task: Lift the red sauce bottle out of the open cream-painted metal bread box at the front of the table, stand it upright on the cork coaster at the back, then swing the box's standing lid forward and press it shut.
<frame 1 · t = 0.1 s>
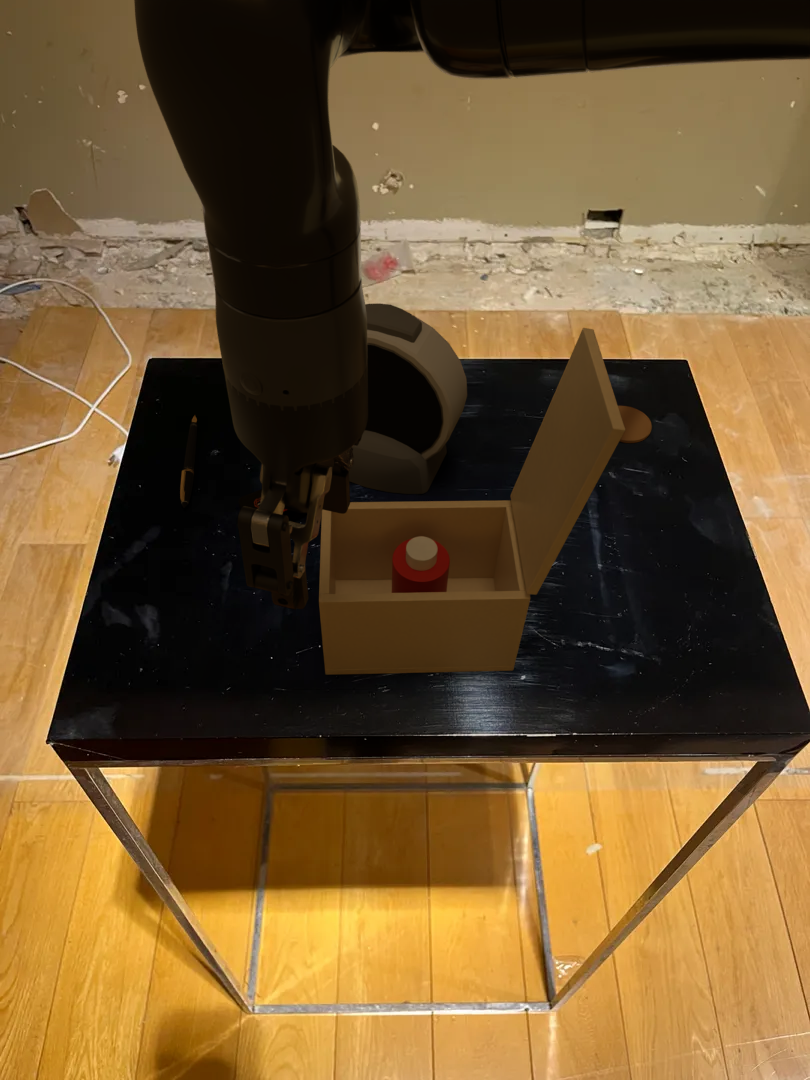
hand: (313, 552, 55), 20 cm above the table, tool pointing down, fingers open, 8 cm apart
pill bottle: (542, 505, 86), on the table
fountain pen: (191, 464, 89), on the table
breadbox lid: (558, 468, 61), point 20 cm above the table, hinge at 100.0°
coaster: (624, 425, 95), on the table
alarm clock: (383, 457, 90), on the table
sauce bottle: (417, 618, 75), point 1 cm above the table, touching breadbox
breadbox: (416, 623, 76), on the table
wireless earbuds: (271, 527, 83), on the table
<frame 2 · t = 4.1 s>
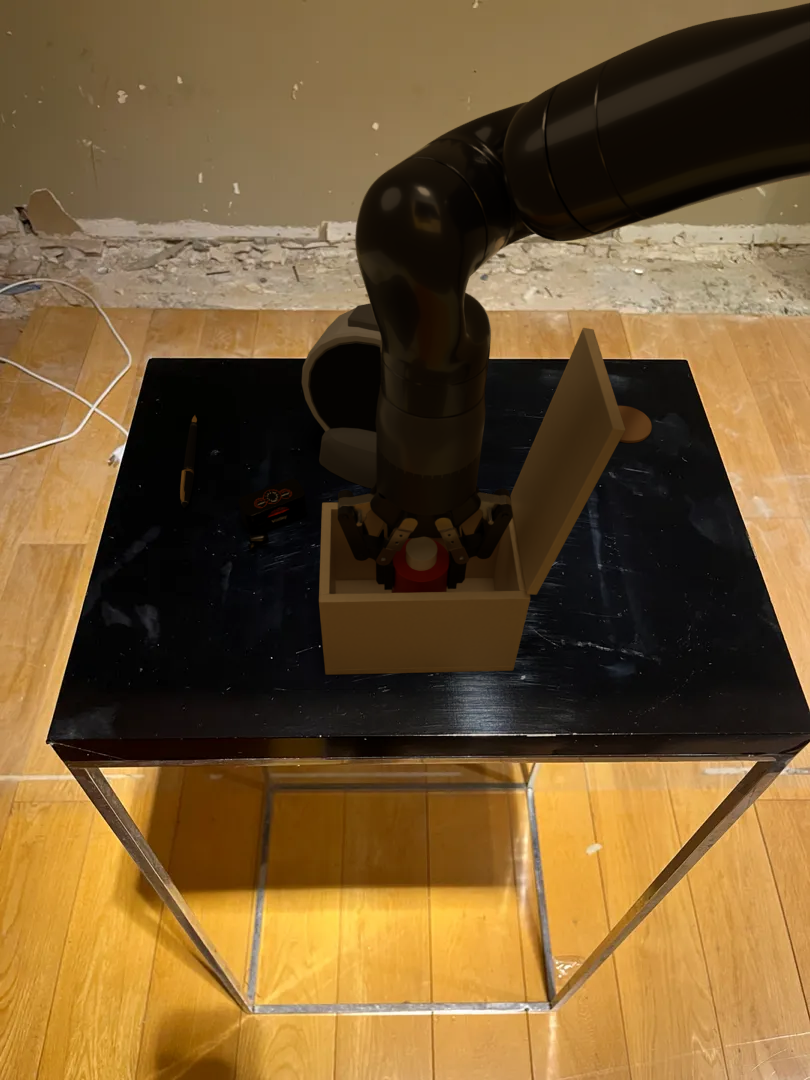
hand: (419, 580, 71), 6 cm above the table, tool pointing down, fingers closed on sauce bottle, 5 cm apart
sauce bottle: (417, 618, 75), point 1 cm above the table, touching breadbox, gripper
everything else where it was.
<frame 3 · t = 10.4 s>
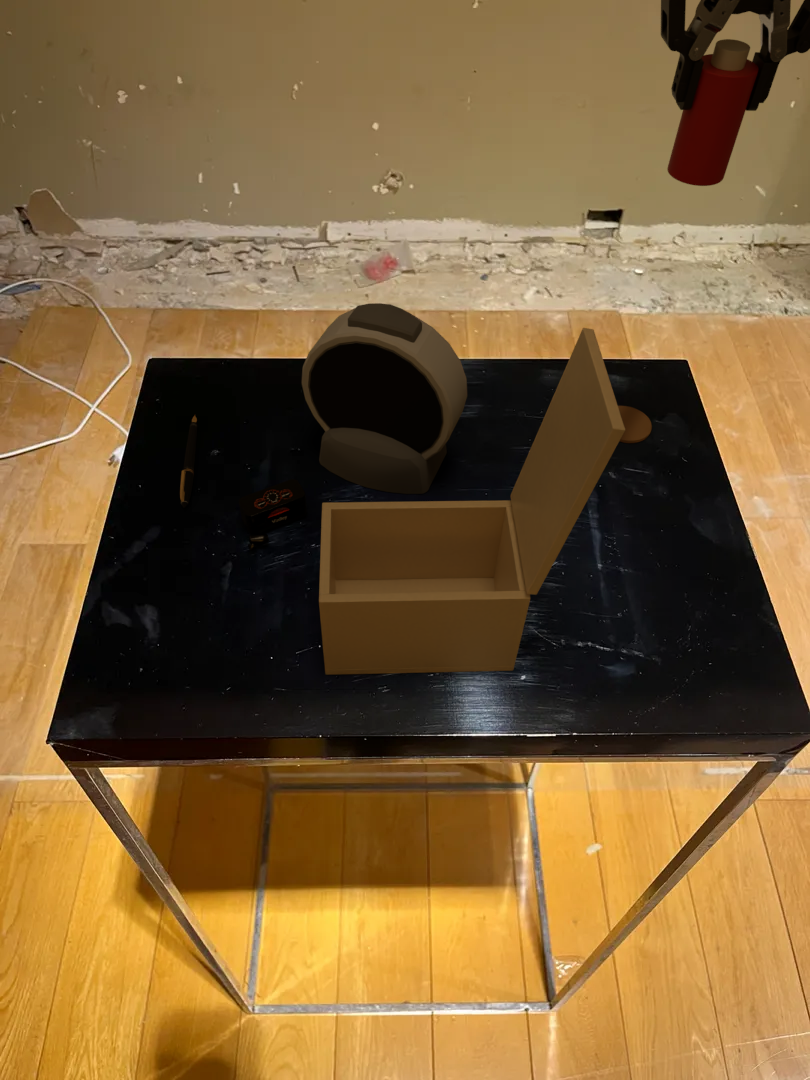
hand: (715, 105, 67), 35 cm above the table, tool pointing down, fingers closed on sauce bottle, 4 cm apart
sauce bottle: (695, 172, 71), point 30 cm above the table, touching gripper
everything else where it was.
when the fingers open (6 cm above the table, at t = 17.0 s): sauce bottle stays where it is, resting on coaster.
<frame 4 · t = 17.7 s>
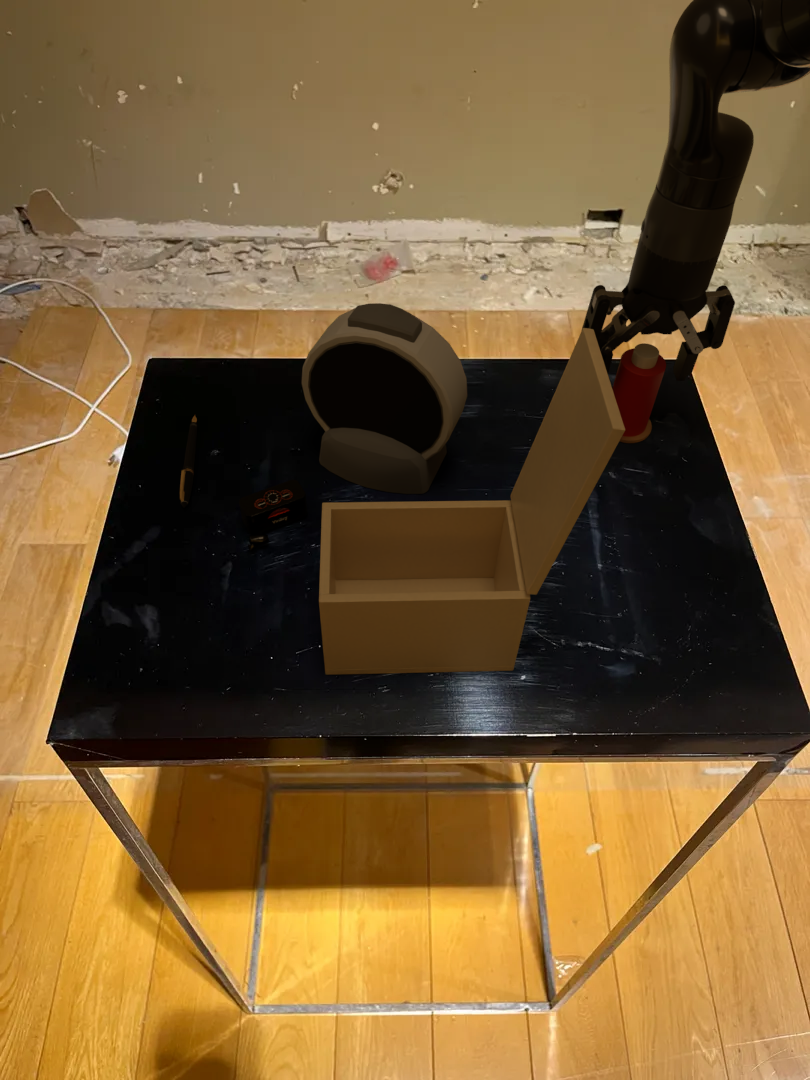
hand: (639, 376, 89), 7 cm above the table, tool pointing down, fingers open, 8 cm apart
sauce bottle: (625, 422, 94), resting on coaster
everything else where it was.
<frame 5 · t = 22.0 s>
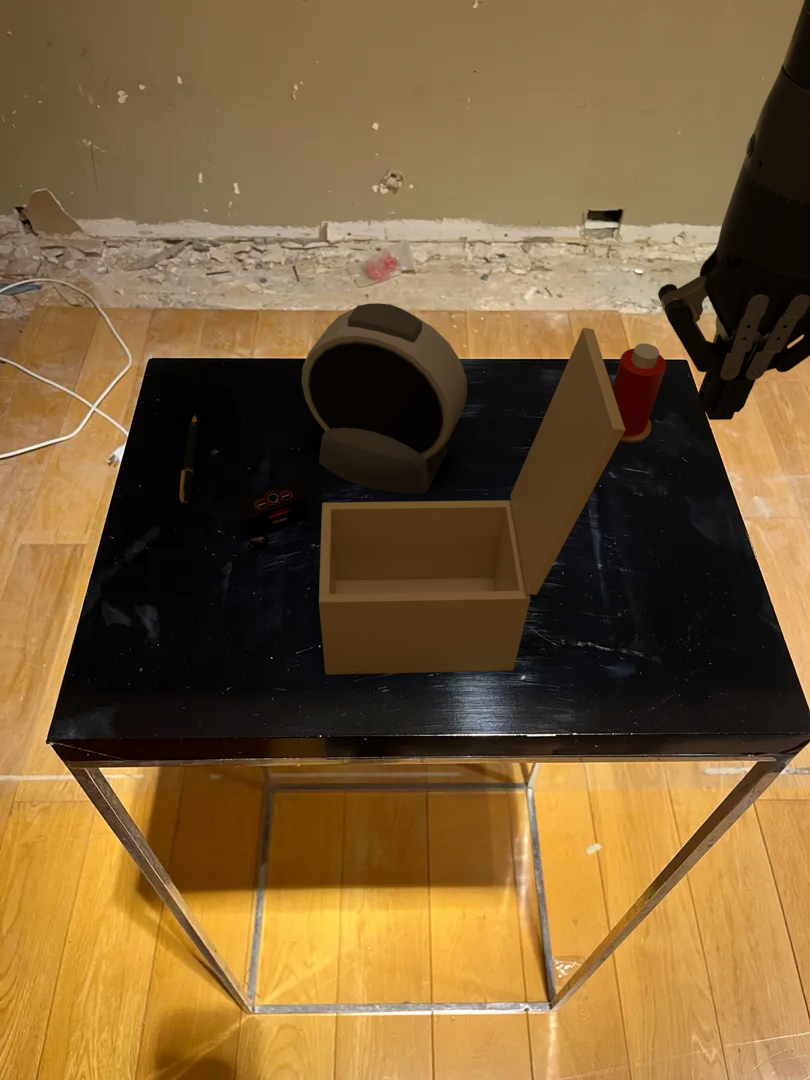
hand: (716, 412, 58), 25 cm above the table, tool pointing down, fingers closed
nothing on the table moved.
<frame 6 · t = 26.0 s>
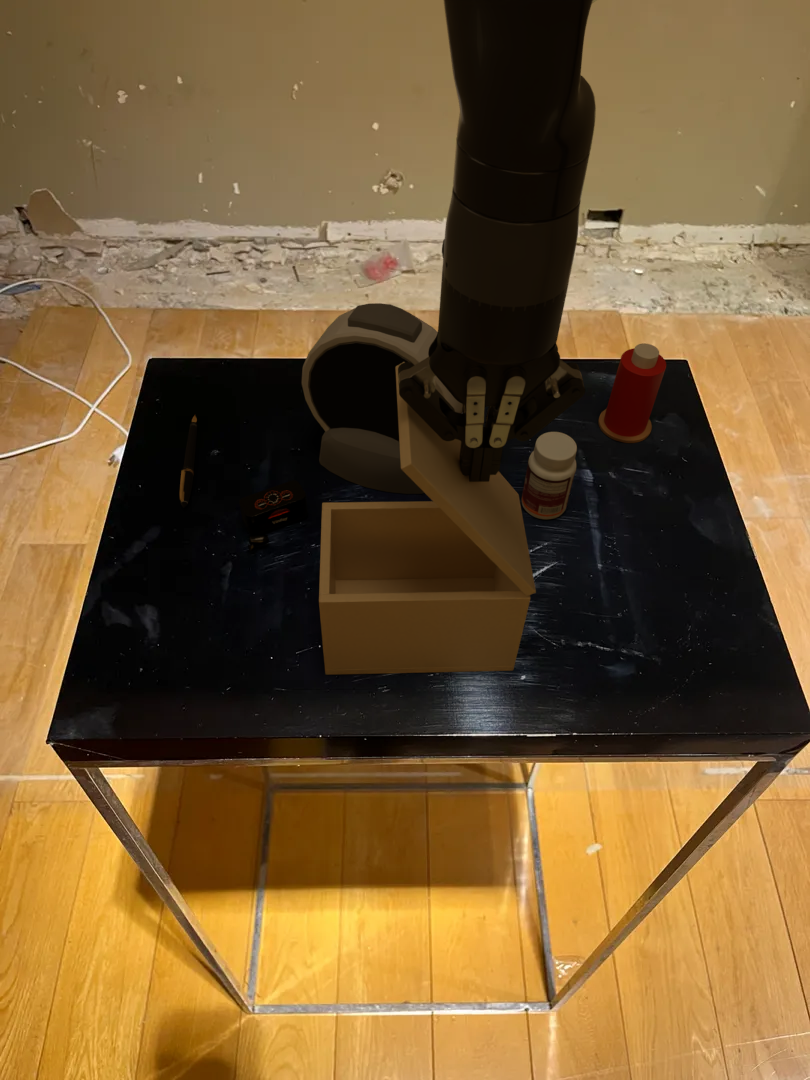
hand: (478, 473, 62), 19 cm above the table, tool pointing down, fingers closed
breadbox lid: (468, 483, 62), point 18 cm above the table, hinge at 54.1°, touching gripper
everything else where it was.
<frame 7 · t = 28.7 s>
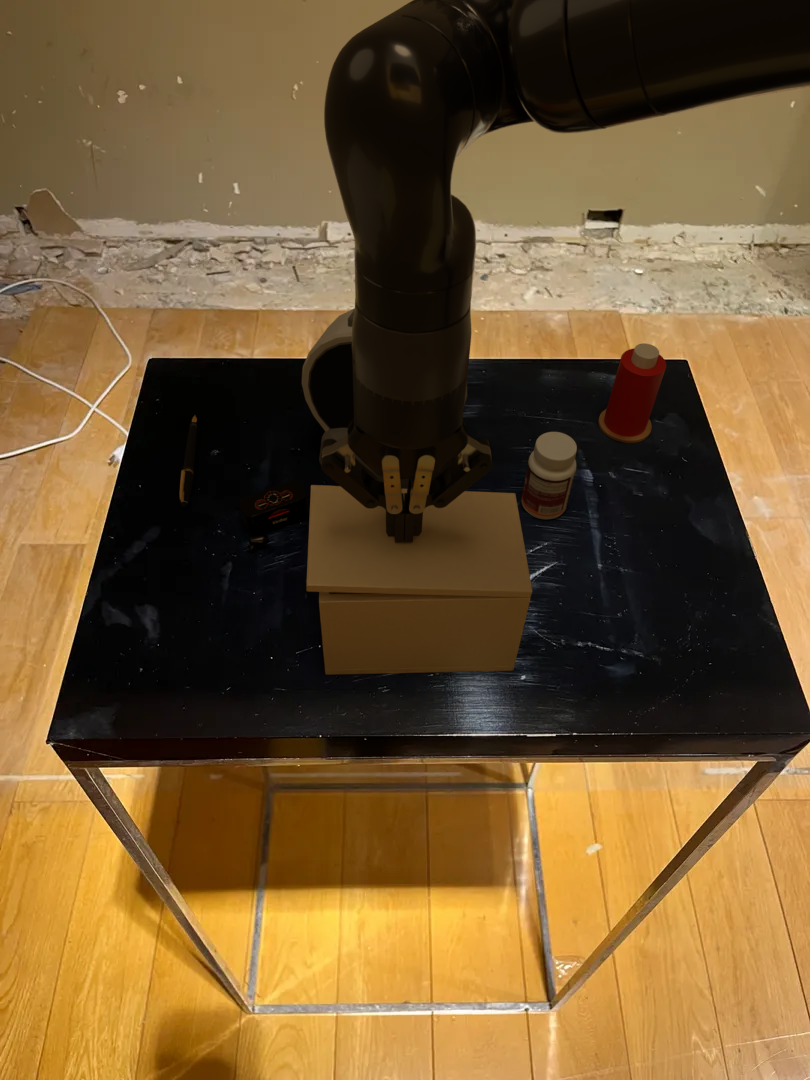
hand: (403, 534, 67), 13 cm above the table, tool pointing down, fingers closed
breadbox lid: (417, 539, 67), point 12 cm above the table, hinge at 4.2°, touching gripper
everything else where it was.
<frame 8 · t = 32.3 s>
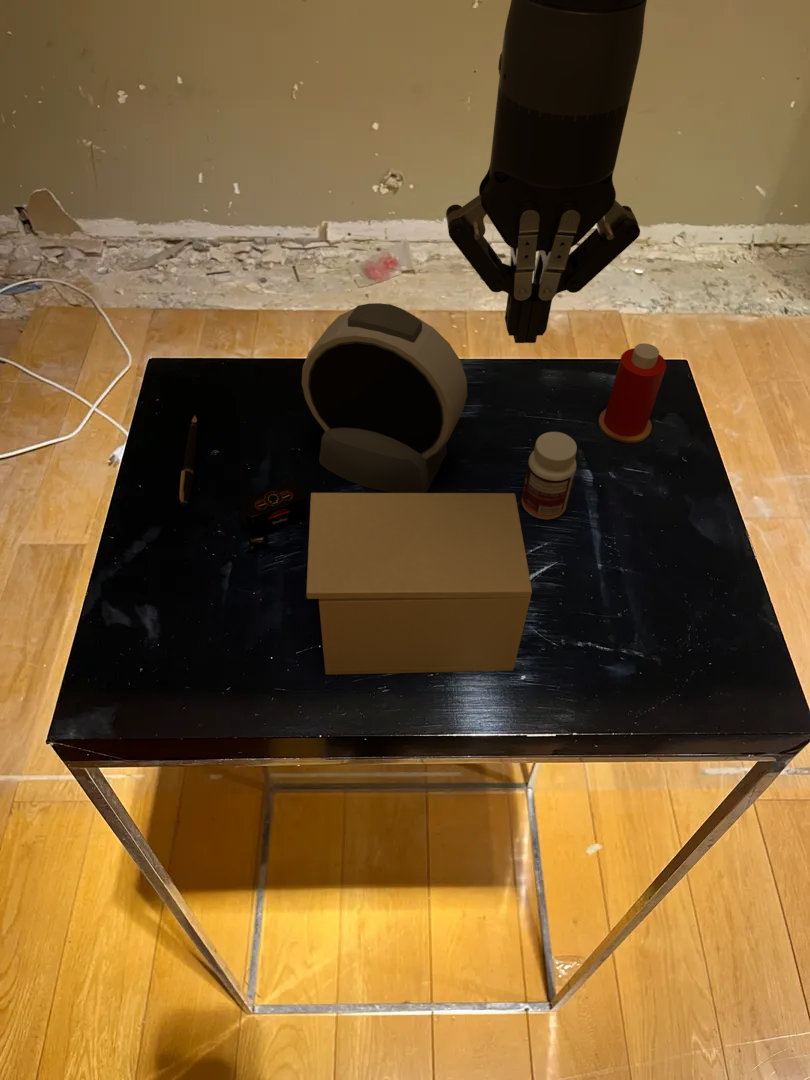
hand: (523, 336, 60), 27 cm above the table, tool pointing down, fingers closed
breadbox lid: (416, 543, 67), point 11 cm above the table, hinge at 1.1°
everything else where it was.
at the end: sauce bottle 0.0 cm off-centre on the coaster, point 0.4 cm above the coaster's base; sauce bottle tilted 0°; breadbox lid at +1° (first picture: +100°) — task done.
